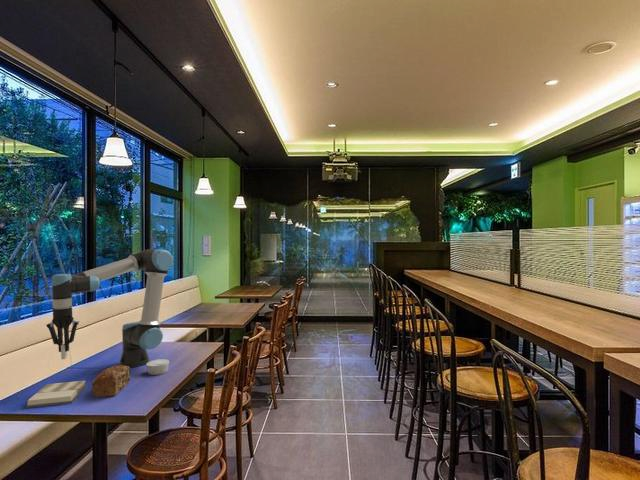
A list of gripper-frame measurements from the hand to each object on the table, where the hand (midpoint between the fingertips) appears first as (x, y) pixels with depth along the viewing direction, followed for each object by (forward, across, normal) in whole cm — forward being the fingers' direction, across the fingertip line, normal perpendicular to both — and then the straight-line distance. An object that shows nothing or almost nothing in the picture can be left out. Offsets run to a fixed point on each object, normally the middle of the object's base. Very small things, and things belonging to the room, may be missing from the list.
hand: (64, 358), depth 184 cm
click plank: (+14, 0, -3) cm, 14 cm away
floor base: (+15, 0, -7) cm, 16 cm away
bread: (+16, +21, -5) cm, 26 cm away
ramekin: (+16, +38, +15) cm, 44 cm away
